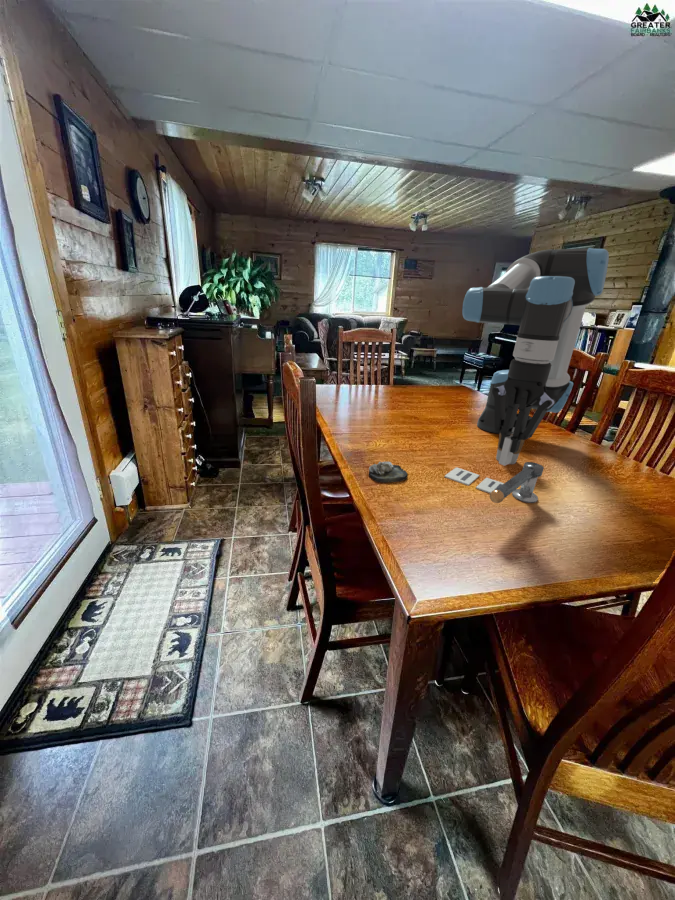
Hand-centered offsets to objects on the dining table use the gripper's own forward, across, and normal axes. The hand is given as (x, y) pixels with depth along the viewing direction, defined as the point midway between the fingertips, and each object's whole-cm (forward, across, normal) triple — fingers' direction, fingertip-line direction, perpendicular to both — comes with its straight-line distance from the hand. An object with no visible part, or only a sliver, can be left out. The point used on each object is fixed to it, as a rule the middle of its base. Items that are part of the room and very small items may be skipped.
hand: (504, 463), depth 82 cm
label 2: (+12, -5, +9) cm, 16 cm away
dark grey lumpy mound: (+12, -26, -10) cm, 31 cm away
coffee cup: (+13, -13, +30) cm, 35 cm away
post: (+12, +2, +11) cm, 17 cm away
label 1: (+12, -14, +7) cm, 19 cm away
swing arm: (+5, +3, +1) cm, 6 cm away
